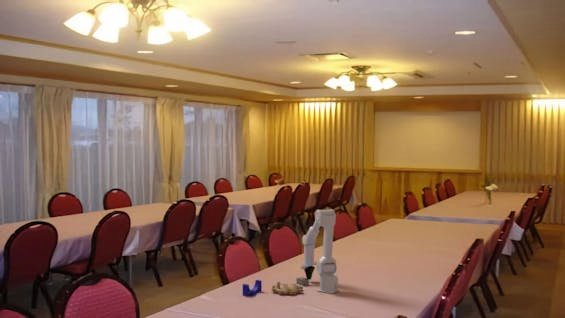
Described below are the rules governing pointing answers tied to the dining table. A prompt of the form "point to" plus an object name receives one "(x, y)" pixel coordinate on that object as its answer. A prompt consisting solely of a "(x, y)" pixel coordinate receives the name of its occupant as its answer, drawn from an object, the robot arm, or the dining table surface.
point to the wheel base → (289, 294)
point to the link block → (302, 281)
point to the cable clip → (254, 291)
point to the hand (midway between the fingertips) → (308, 279)
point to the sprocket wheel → (286, 288)
